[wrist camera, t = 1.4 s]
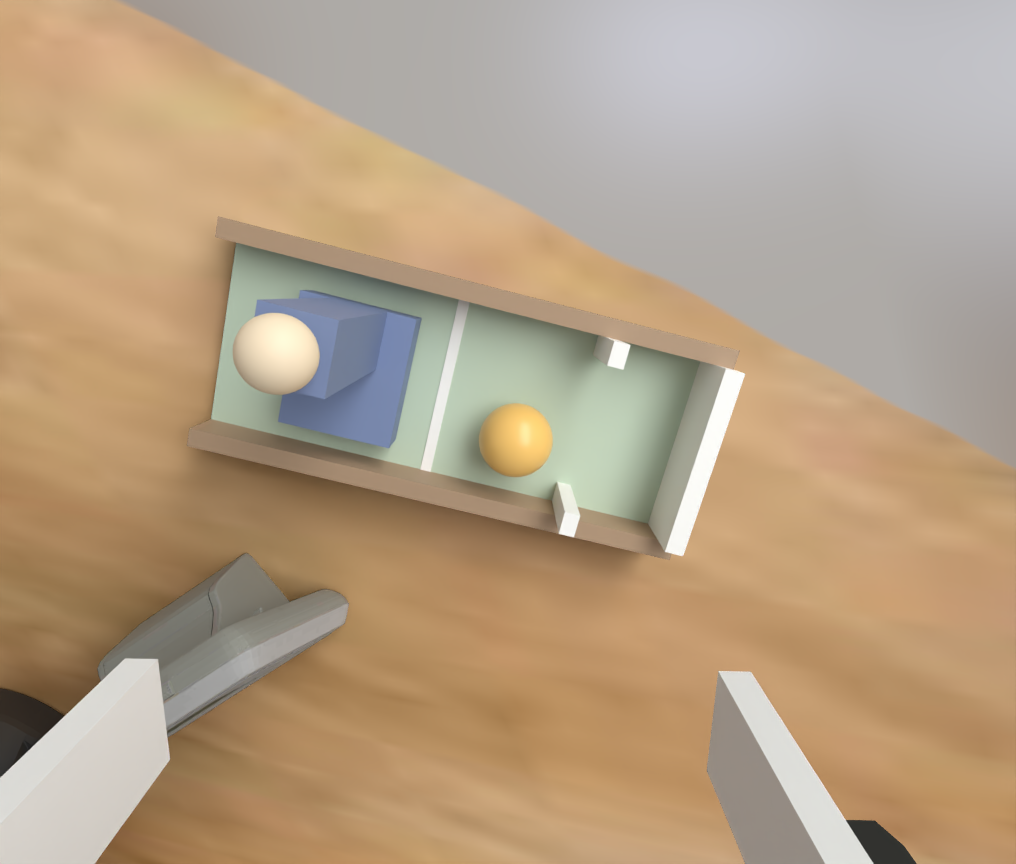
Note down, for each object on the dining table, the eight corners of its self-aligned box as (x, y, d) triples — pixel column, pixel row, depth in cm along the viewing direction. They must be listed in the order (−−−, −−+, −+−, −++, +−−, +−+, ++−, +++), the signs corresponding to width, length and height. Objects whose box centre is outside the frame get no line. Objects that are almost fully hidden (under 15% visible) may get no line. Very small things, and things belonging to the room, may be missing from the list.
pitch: (217, 431, 36) (159, 459, 30) (247, 224, 33) (190, 209, 27) (655, 535, 37) (682, 581, 31) (717, 345, 34) (760, 356, 29)
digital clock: (159, 728, 40) (38, 880, 30) (87, 616, 38) (-69, 736, 28) (378, 645, 39) (331, 773, 28) (315, 523, 37) (240, 614, 27)
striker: (291, 414, 34) (148, 494, 20) (312, 290, 32) (173, 288, 19) (395, 439, 34) (322, 534, 21) (422, 317, 33) (361, 335, 19)
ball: (473, 456, 35) (468, 477, 31) (489, 389, 34) (487, 402, 30) (540, 472, 35) (544, 494, 31) (558, 406, 34) (564, 421, 30)
